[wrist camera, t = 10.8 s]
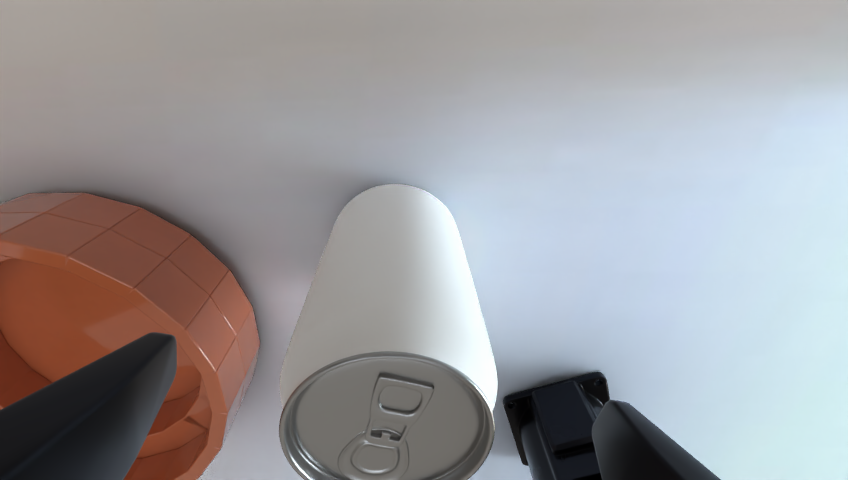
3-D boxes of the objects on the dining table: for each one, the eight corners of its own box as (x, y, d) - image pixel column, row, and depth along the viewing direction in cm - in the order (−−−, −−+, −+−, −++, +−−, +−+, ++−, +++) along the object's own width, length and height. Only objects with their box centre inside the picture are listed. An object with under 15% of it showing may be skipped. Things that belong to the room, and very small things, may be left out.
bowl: (306, 384, 26) (283, 467, 21) (85, 446, 27) (14, 538, 22) (164, 145, 19) (81, 182, 14) (-119, 244, 21) (-283, 309, 16)
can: (320, 276, 23) (243, 496, 12) (350, 163, 20) (286, 311, 9) (435, 305, 24) (461, 530, 13) (476, 202, 21) (553, 373, 10)
